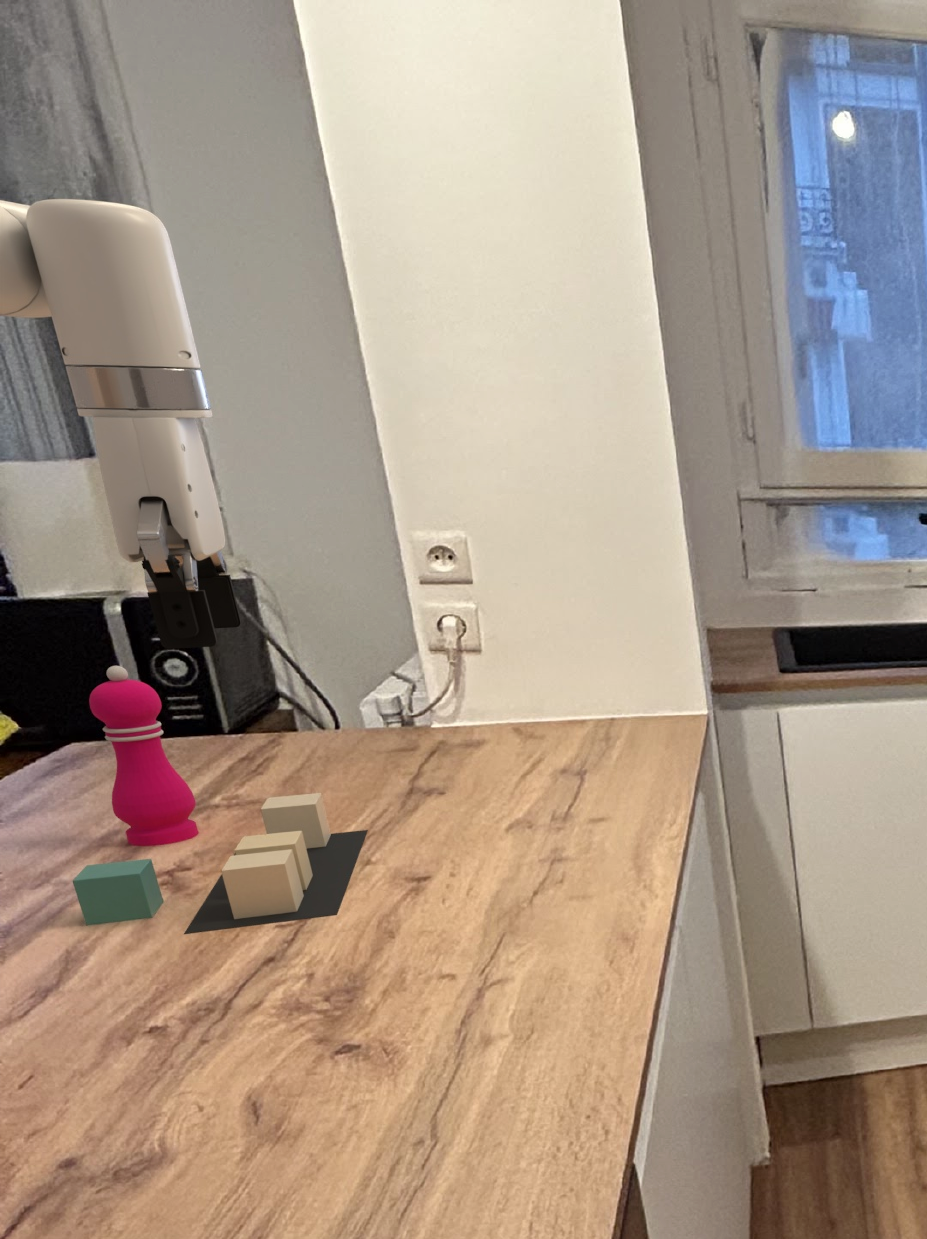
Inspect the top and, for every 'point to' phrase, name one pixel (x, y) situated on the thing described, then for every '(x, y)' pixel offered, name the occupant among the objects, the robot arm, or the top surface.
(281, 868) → the cream block
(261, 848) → the cream block
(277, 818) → the cream block
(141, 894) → the teal block
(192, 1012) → the top surface
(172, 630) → the robot arm
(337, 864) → the mat
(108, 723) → the pepper mill
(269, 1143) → the top surface
